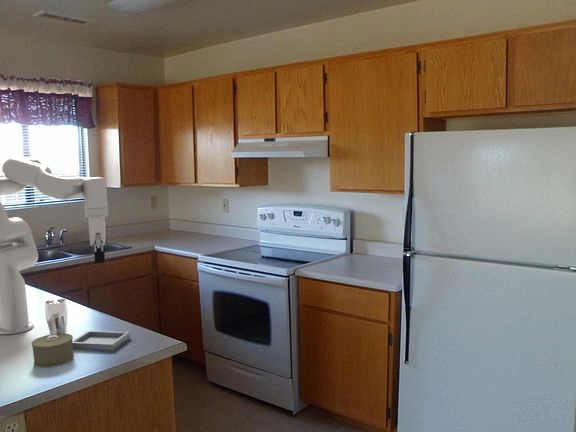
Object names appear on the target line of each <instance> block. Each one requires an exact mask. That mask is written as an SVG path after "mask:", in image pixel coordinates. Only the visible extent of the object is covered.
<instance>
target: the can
mask: <svg viewBox="0 0 576 432" xmlns="http://www.w3.org/2000/svg"><path fill="white" fill-rule="evenodd" d="M73 337H74V336H73V335H72V334H69V333H67V334H64V333H59V334H51V335H50V334H45V335H42V336H40V337H37V338H35V339H33V340H32V341H31V346H32V355H33V361H34V362H33V364H34V366H35V367H38V368H53V366H55V367H58V365H59V366H63V365H64V363H65V364H67V362H68V363H69V362H71V361H72V360H73V359H74V358H75V356H74V350H73V342H72V341H73V340H74V339H73ZM73 357H74V358H73ZM62 364H63V365H62Z"/></svg>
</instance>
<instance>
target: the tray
mask: <svg viewBox="0 0 576 432" xmlns="http://www.w3.org/2000/svg"><path fill="white" fill-rule="evenodd" d="M130 339H131V332H130V331H111V330H110V331H108V330H107V331H106V330H87V331H85V332H84V333H83V334H80V336H78V337H76V338H74V339H72V342H73V351H74V350H75V351H91V352H95V351H97V352H114V351H116V350H118V348H119V347H121V346H122V345H124V344H125V343H127V342H129V340H130Z"/></svg>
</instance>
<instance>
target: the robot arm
mask: <svg viewBox="0 0 576 432" xmlns="http://www.w3.org/2000/svg"><path fill="white" fill-rule="evenodd" d="M1 169H2V172H0V196H2V195H12V194H17V193H19V192H21V191H23V190H24V189H25V188H27V187H29V186H30V187H33V188H36V189H37V191H39V192H40V193H41V194H43V195H45V196H48V197H52V198H54V199H57V200H62V201H63V200H64V201H66V200H67V201H68V200H73V199H74V200H75V199H82V198H83V199H84V212H85V213H84V214H85V218H87V219H88V231H89V232H88V233H89V245H90V246H91V247H92V246H93V245H94V251H93V252H94V253H93V255H94V263H95V264H104V263H105V262H106V260H105V257H106V255H105V246H104V245H105V244H106V219H105V218H107V217H109V208H108V195H107V181H106V179H105V178H104V177H102V176H101V177H100V176H95V177H94V176H93V177H85V176H72V177H59V176H58V175H57V176H56V175H53V174H52V170H51V168H50V167H49V166H46V165H44V164H42V162H41V161H40V160H38V159H37V158H35V157H27V156H26V157H12V158H9V159H7V160H5V162H3V165H2V168H1ZM9 244H12V246H7V247H4V248H0V335H15V334H20V333H24V332H27V331H29V330H31V329H33V328H34V322H33V321H30V320H29V311H28V300H27V299H28V298H27V289H26V282H25V278H24V277H23V275H22V274H21V272H20V271H22V270H26V269H28V268H32V267H34V266H35V265H36V264H37V263H38V259H39V252H38V249H37V246H36V243H35V240H34V236H33V234H32V230H31V228H30V226H29V224H28V223H27V222H26V221H25V220H24V219H22V218H20V217H11V218H9V217H8V214H7V212H6V208H5V206H4V205H3V204H2V203H1V202H0V246H5V245H9Z"/></svg>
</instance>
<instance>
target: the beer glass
mask: <svg viewBox="0 0 576 432" xmlns="http://www.w3.org/2000/svg"><path fill="white" fill-rule="evenodd" d="M44 303H45V305H44V306H45V310H44V311H45V312H44V313H45V319H46V320H45V321H46V323H47V327H48V330H49V335H51V334H59V333H64V334H68V333H67V326H68V306H67V302H66V299H65V298H53V299H48V300H46V301H45V302H44Z"/></svg>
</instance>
